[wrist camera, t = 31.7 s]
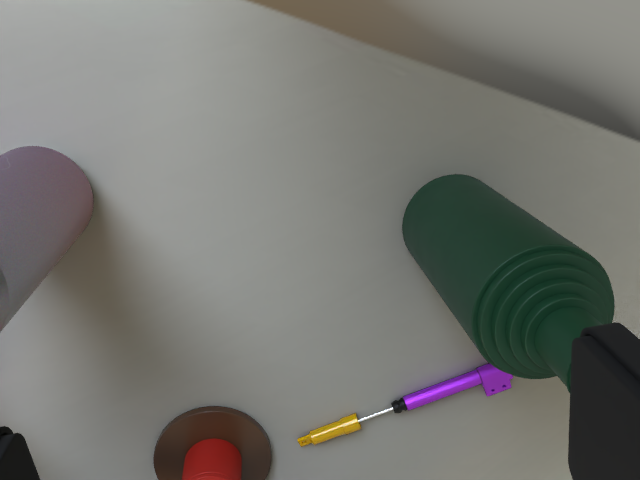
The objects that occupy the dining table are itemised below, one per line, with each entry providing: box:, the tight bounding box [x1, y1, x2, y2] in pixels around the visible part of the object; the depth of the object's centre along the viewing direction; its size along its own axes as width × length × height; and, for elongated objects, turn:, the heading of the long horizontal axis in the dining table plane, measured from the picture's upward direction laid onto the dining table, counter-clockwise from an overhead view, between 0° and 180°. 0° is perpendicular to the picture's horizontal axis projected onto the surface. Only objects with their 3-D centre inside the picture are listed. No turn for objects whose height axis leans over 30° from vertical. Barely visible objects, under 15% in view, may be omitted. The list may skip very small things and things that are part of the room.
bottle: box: [402, 174, 614, 393], centre depth 30 cm, size 6×6×18 cm
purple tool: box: [298, 363, 513, 447], centre depth 43 cm, size 3×1×16 cm
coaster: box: [154, 406, 271, 480], centre depth 42 cm, size 8×8×1 cm
